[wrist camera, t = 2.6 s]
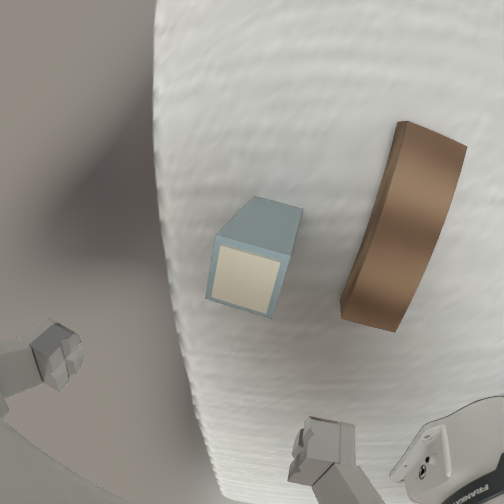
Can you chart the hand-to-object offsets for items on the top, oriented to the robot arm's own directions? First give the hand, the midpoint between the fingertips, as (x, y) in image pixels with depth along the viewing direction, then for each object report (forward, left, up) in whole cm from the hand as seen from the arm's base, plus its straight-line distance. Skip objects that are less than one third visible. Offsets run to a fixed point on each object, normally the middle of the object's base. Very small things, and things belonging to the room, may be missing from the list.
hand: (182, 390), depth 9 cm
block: (0, 0, -19) cm, 19 cm away
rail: (+3, -10, -18) cm, 21 cm away
